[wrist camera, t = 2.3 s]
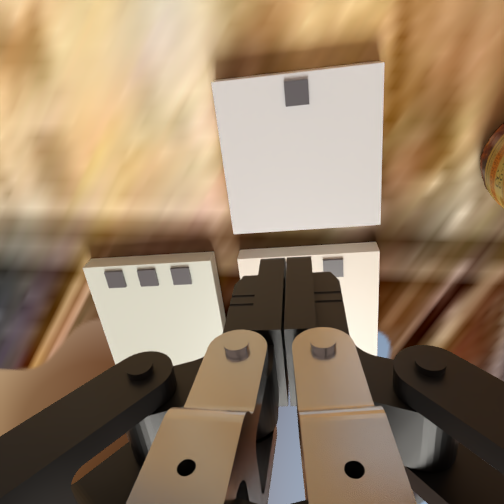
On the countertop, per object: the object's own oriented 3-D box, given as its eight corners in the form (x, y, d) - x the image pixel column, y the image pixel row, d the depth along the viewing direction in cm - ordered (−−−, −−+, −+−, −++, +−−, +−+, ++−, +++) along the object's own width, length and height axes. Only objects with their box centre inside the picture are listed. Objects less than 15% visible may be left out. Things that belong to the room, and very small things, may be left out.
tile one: (215, 79, 26) (210, 82, 25) (379, 60, 25) (385, 62, 24) (236, 225, 31) (233, 235, 29) (376, 216, 30) (380, 225, 28)
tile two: (239, 249, 32) (237, 260, 30) (376, 241, 30) (380, 252, 29) (254, 352, 36) (252, 366, 35) (373, 349, 35) (377, 364, 33)
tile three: (91, 258, 33) (81, 269, 32) (213, 251, 32) (209, 262, 31) (122, 356, 38) (115, 369, 36) (231, 353, 37) (228, 367, 35)
